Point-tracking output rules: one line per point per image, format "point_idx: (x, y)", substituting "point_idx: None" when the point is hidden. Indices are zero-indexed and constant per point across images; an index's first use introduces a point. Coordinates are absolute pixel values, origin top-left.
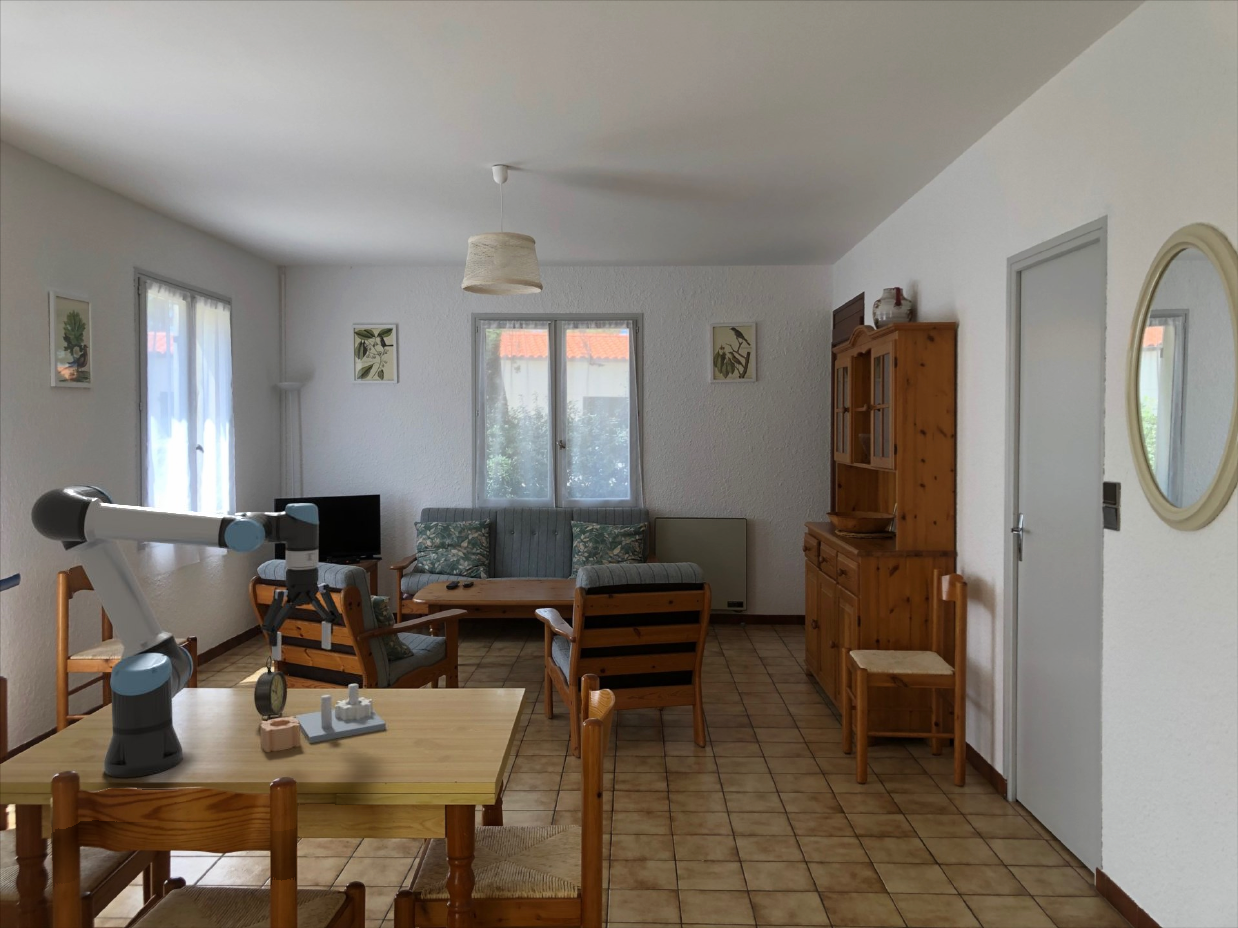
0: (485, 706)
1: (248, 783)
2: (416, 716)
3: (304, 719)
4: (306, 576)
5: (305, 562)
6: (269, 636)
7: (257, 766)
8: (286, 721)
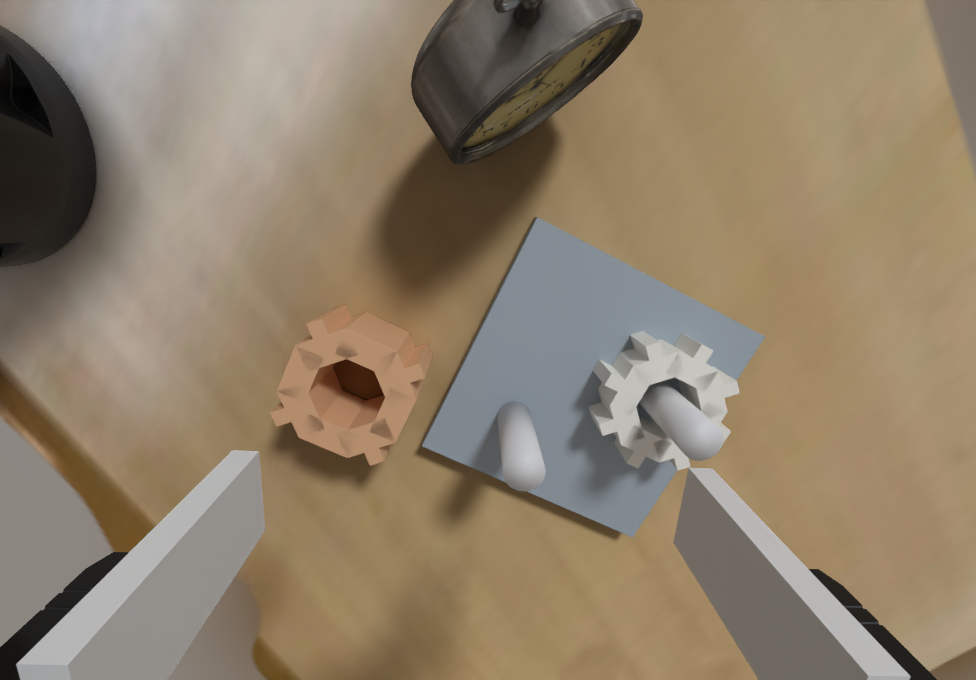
0: (912, 613)
1: None
2: None
3: (525, 287)
4: None
5: None
6: (3, 656)
7: None
8: (381, 385)
